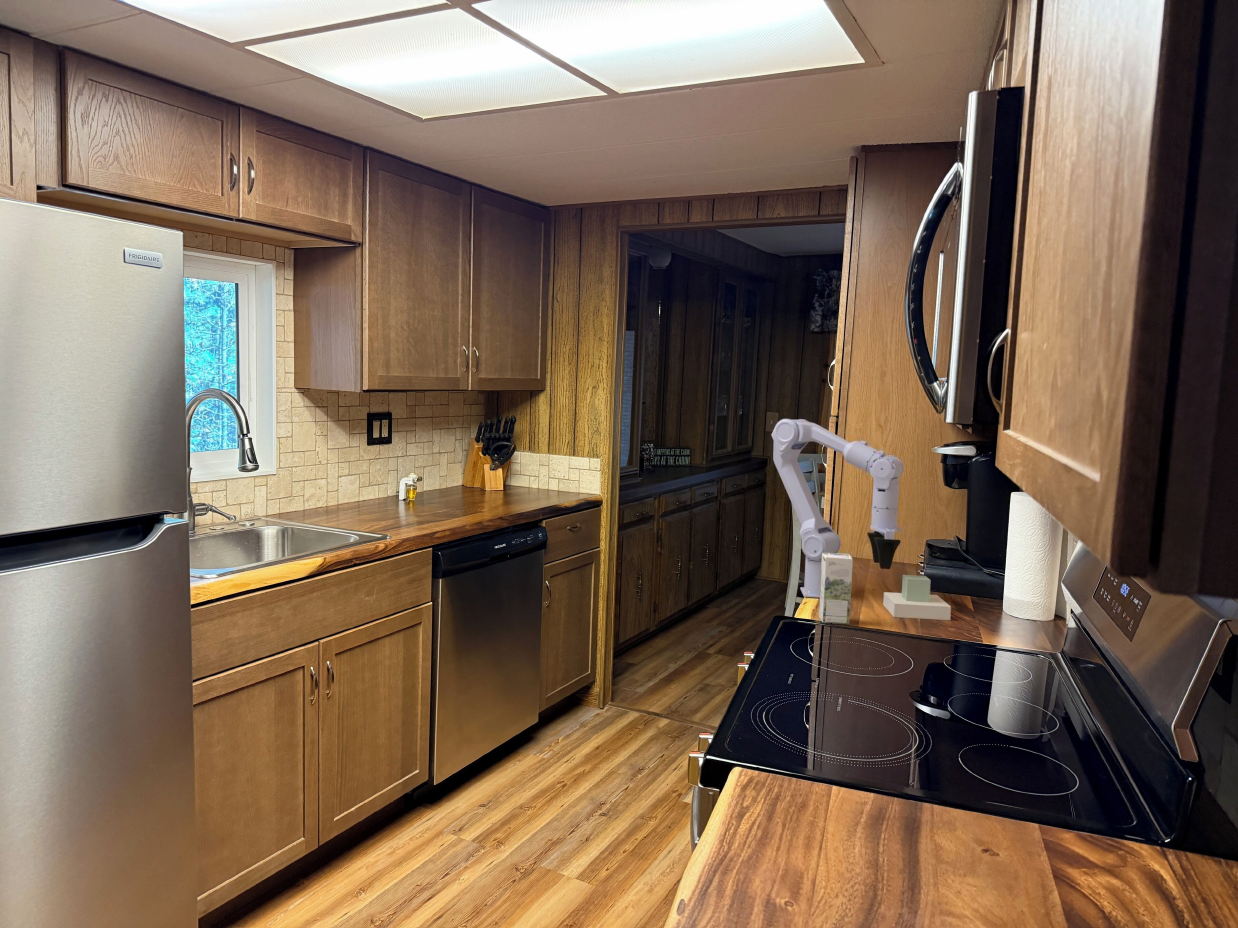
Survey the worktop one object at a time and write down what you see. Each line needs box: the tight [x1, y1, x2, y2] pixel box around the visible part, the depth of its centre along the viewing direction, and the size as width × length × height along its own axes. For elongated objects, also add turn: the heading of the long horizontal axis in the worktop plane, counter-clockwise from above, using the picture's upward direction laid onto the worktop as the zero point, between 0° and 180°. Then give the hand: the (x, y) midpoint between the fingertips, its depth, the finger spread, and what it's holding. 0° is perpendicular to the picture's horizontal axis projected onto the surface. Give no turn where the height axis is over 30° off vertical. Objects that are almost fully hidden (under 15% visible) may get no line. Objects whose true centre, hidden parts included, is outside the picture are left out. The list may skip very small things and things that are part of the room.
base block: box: [882, 591, 952, 621], centre depth 193 cm, size 12×12×3 cm
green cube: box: [901, 574, 931, 602], centre depth 193 cm, size 5×5×5 cm
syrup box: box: [818, 552, 854, 625], centre depth 182 cm, size 6×6×14 cm
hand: (881, 565), depth 199 cm, fingers open, 7 cm apart
